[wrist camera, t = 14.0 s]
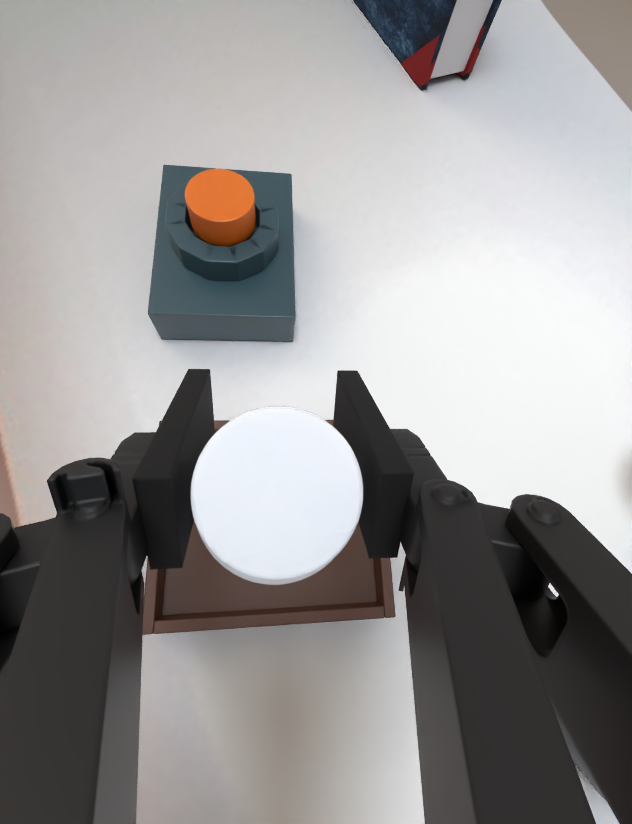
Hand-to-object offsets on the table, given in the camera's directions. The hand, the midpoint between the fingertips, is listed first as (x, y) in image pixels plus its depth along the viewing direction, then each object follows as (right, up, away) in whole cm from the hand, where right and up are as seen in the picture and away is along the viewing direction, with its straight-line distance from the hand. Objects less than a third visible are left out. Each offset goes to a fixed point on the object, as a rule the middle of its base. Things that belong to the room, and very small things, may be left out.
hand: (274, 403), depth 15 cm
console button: (-4, +12, +10) cm, 16 cm away
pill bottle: (0, -5, +2) cm, 5 cm away
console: (-5, +10, +14) cm, 18 cm away
